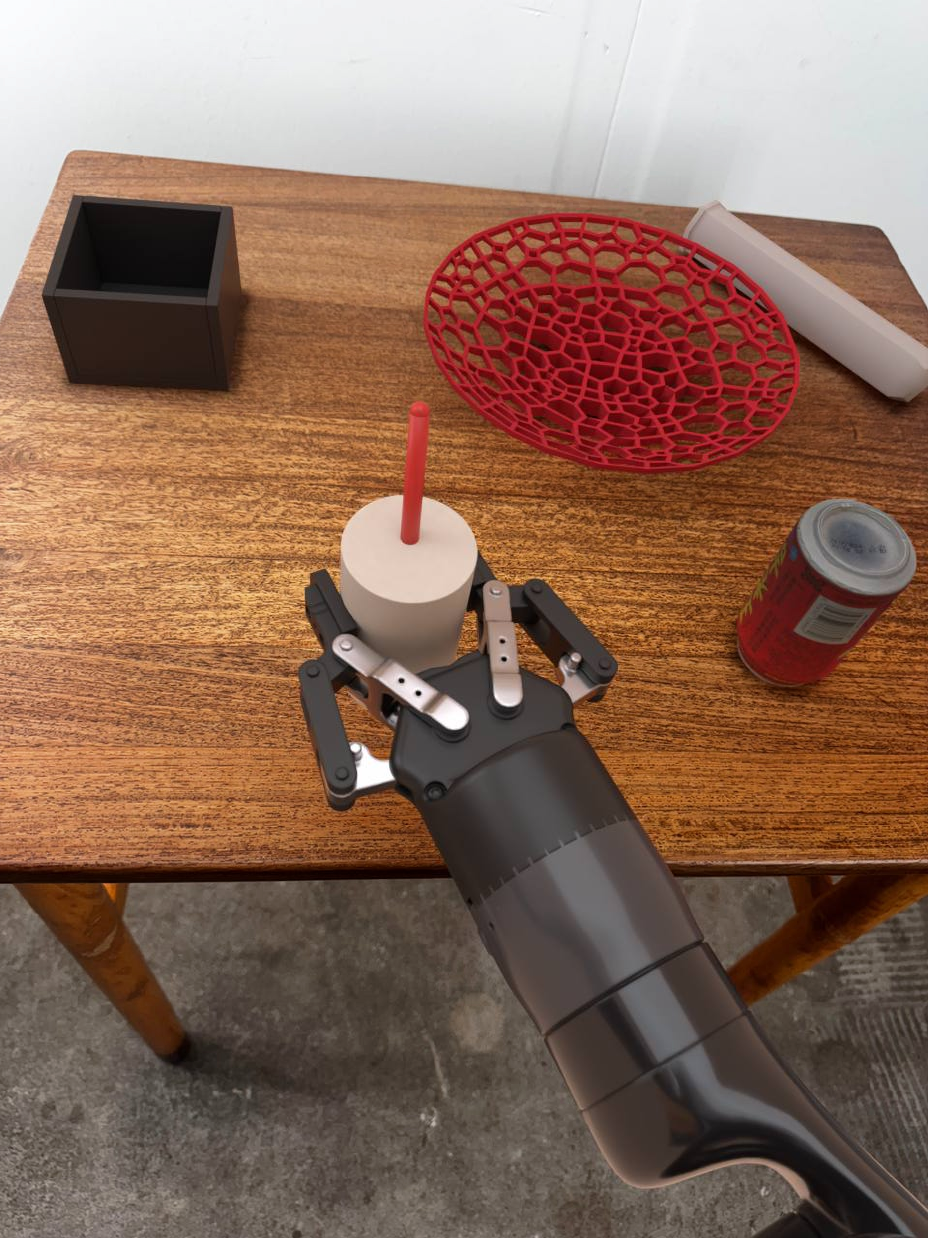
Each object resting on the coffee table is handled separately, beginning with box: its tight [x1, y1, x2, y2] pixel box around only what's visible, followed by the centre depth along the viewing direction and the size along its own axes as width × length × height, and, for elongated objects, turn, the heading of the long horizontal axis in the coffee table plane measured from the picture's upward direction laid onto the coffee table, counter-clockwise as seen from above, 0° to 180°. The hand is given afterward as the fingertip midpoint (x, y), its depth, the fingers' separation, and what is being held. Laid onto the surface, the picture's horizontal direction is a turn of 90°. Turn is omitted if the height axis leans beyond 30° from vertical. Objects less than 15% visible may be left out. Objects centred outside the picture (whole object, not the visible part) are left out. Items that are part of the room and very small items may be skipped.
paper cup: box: [339, 401, 479, 710], centre depth 41 cm, size 6×6×16 cm
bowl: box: [422, 212, 801, 475], centre depth 73 cm, size 29×30×5 cm
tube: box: [678, 199, 928, 403], centre depth 80 cm, size 5×5×25 cm
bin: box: [40, 194, 243, 392], centre depth 69 cm, size 12×12×8 cm
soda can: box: [736, 498, 918, 688], centre depth 57 cm, size 7×7×12 cm
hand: (380, 560), depth 43 cm, fingers closed on paper cup, 5 cm apart
